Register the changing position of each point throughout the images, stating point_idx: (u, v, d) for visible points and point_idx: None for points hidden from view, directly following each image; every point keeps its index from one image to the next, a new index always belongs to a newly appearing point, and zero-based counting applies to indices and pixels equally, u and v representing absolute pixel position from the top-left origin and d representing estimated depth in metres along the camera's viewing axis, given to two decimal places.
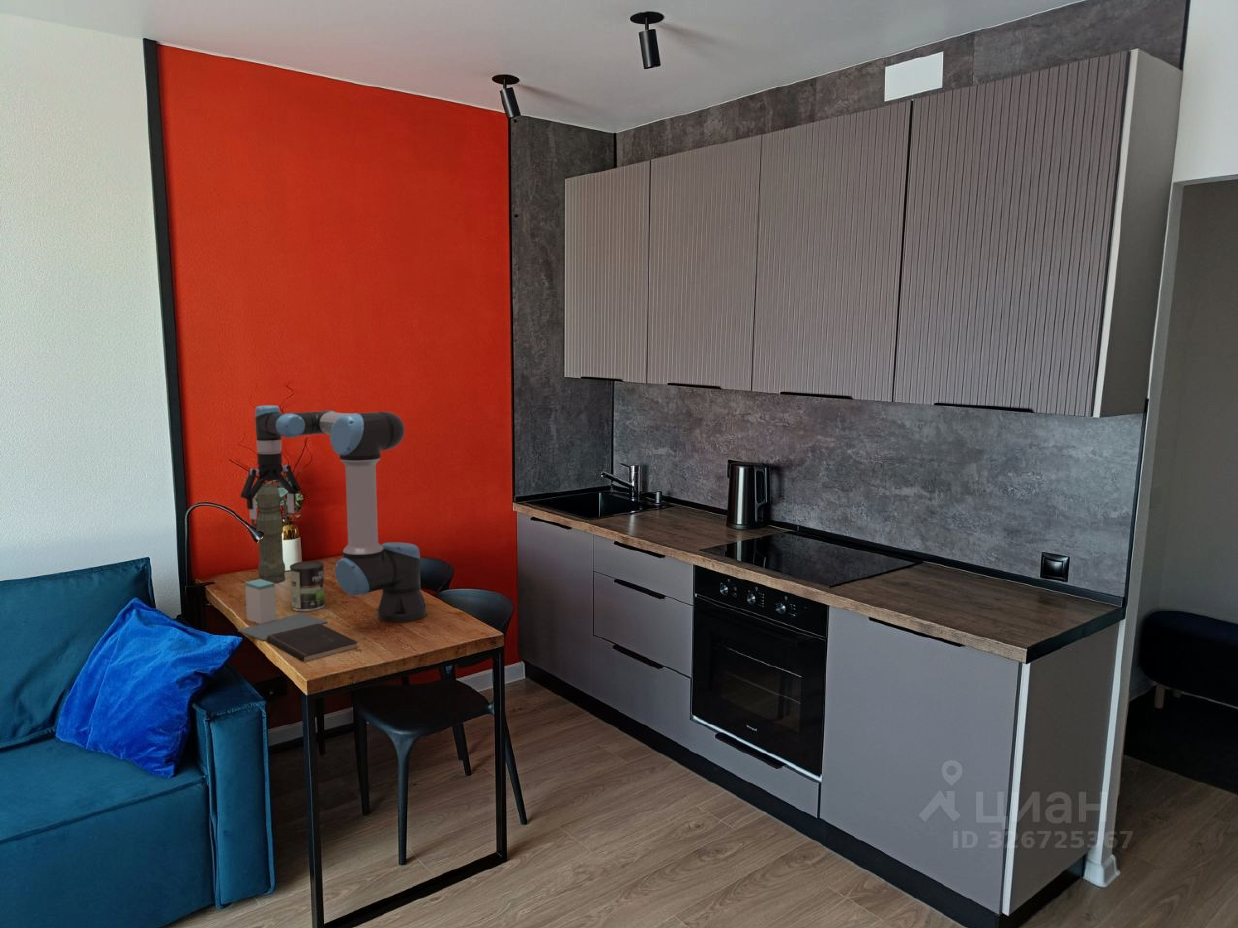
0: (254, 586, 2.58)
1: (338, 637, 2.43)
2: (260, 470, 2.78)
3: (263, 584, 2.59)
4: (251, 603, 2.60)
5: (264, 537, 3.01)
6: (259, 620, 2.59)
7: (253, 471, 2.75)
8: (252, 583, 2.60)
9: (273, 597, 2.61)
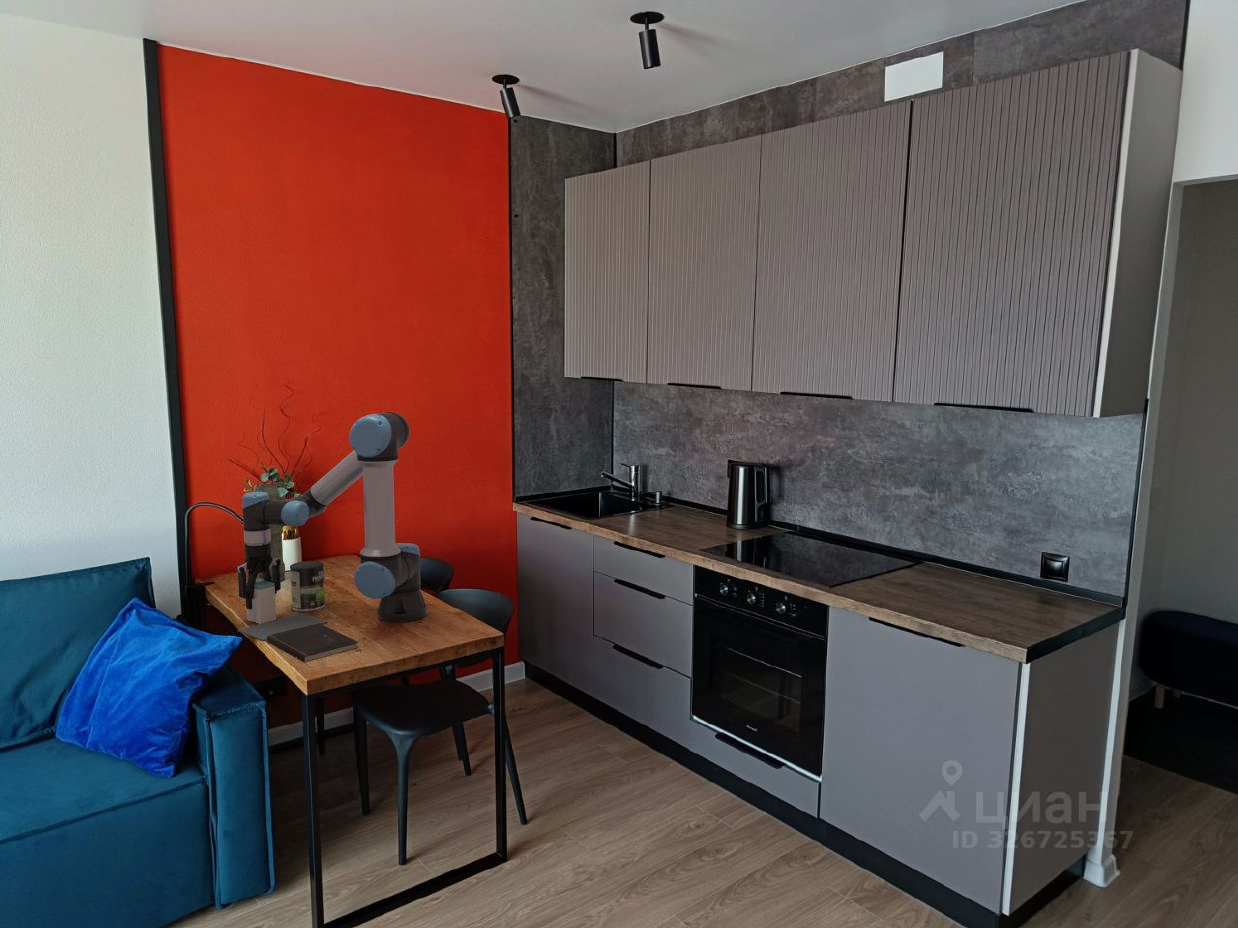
0: (254, 586, 2.58)
1: (338, 636, 2.43)
2: (247, 564, 2.57)
3: (263, 584, 2.59)
4: None
5: None
6: (259, 620, 2.59)
7: (241, 570, 2.55)
8: None
9: (273, 597, 2.61)
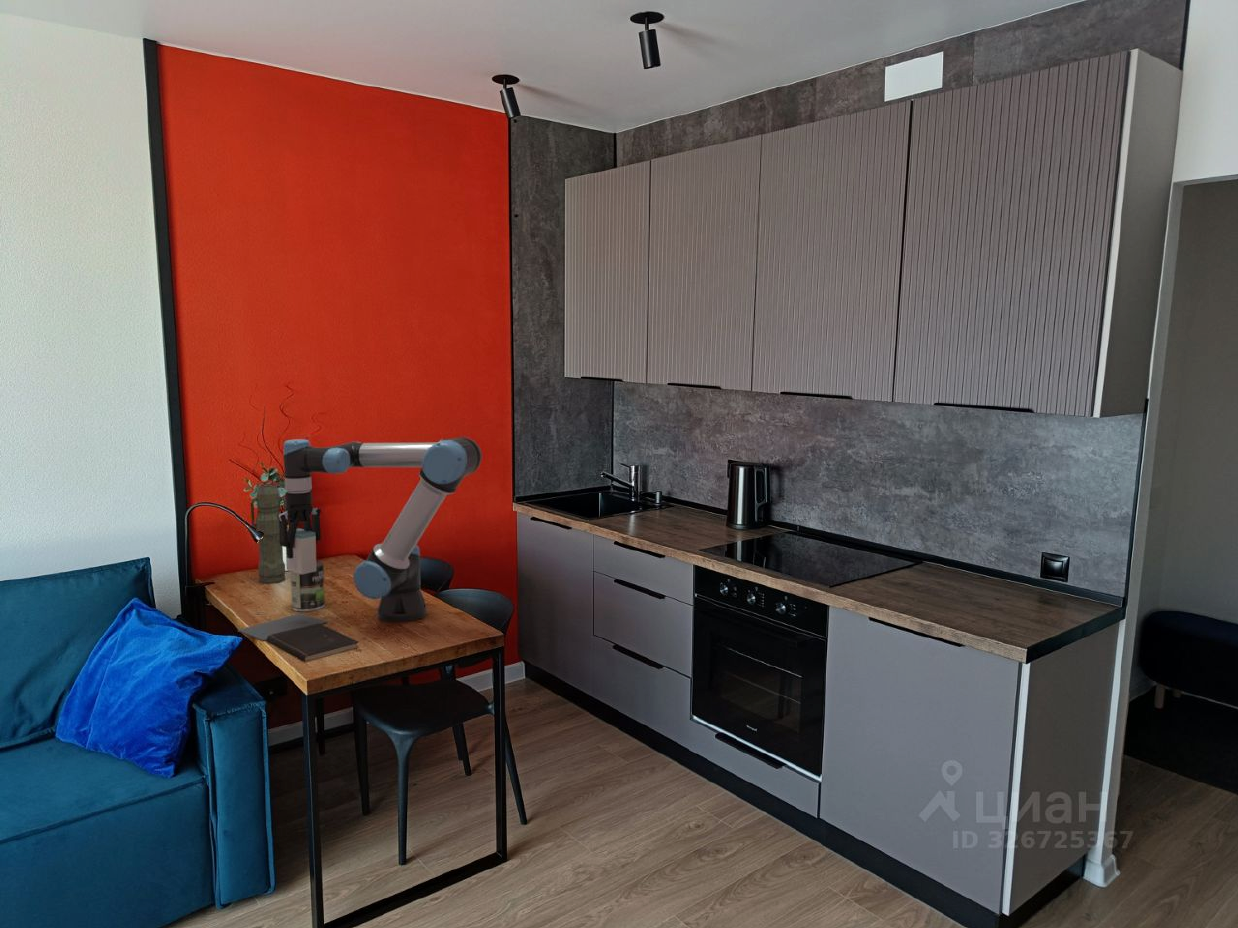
0: (295, 535, 2.55)
1: (339, 636, 2.43)
2: (288, 512, 2.53)
3: (304, 533, 2.55)
4: None
5: (264, 537, 3.01)
6: (300, 569, 2.55)
7: (282, 517, 2.51)
8: None
9: (314, 547, 2.57)
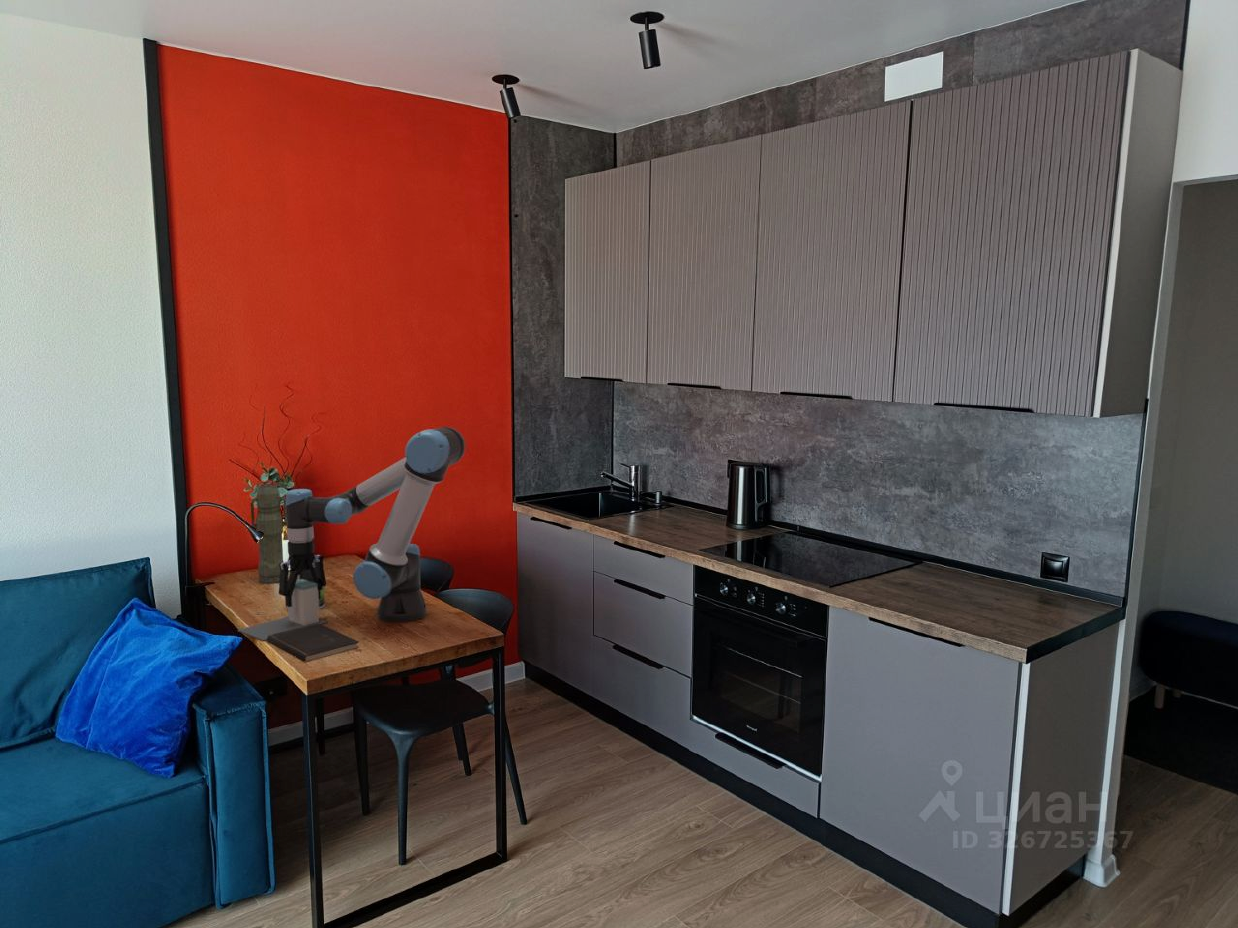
0: (297, 586, 2.57)
1: (339, 636, 2.43)
2: (291, 561, 2.55)
3: (306, 584, 2.58)
4: None
5: (264, 537, 3.01)
6: (302, 620, 2.57)
7: (284, 566, 2.53)
8: None
9: (316, 598, 2.59)
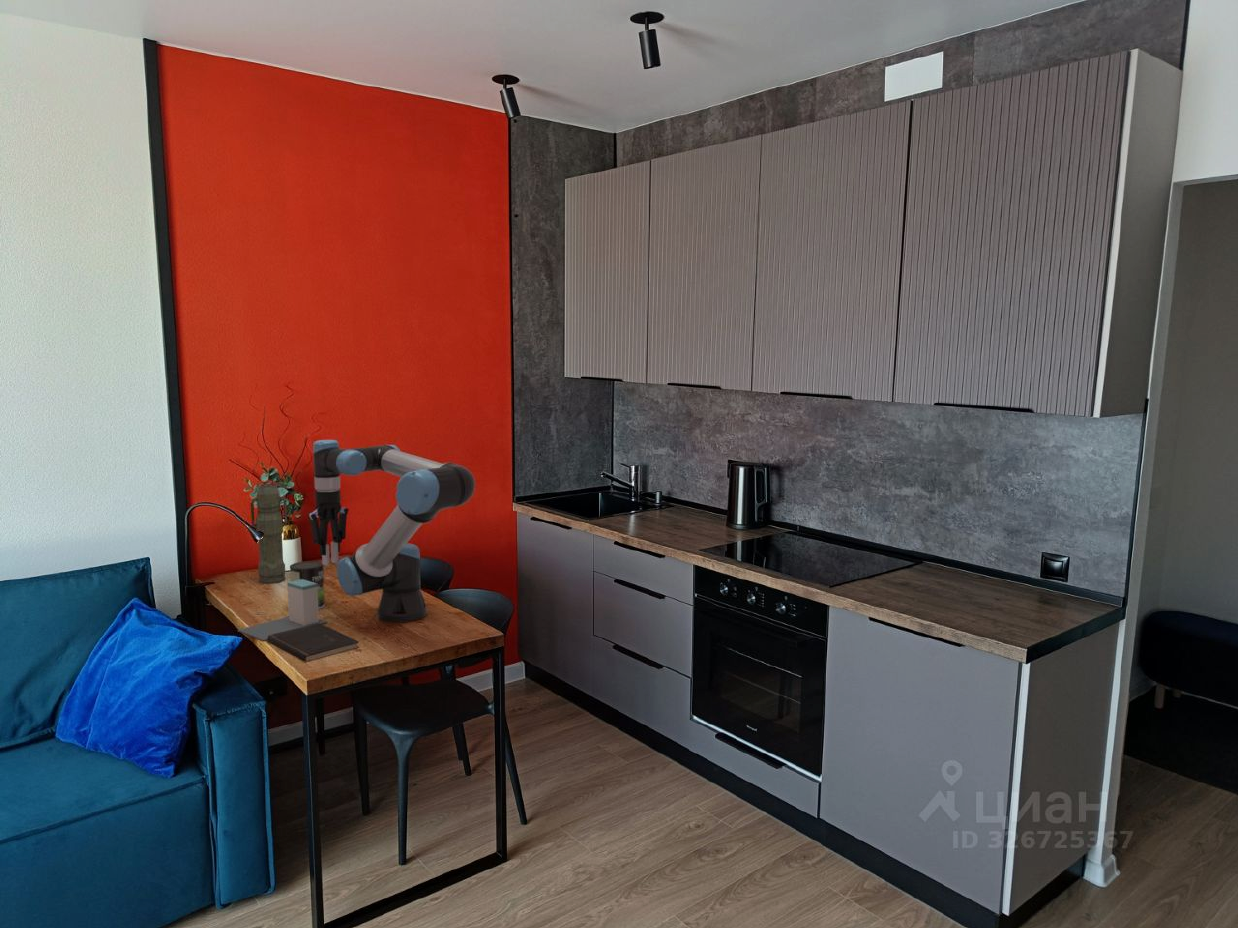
0: (297, 586, 2.57)
1: (339, 636, 2.43)
2: (318, 511, 2.61)
3: (306, 584, 2.58)
4: (294, 603, 2.59)
5: (264, 537, 3.01)
6: (302, 620, 2.57)
7: (313, 516, 2.59)
8: (295, 583, 2.59)
9: (316, 597, 2.59)
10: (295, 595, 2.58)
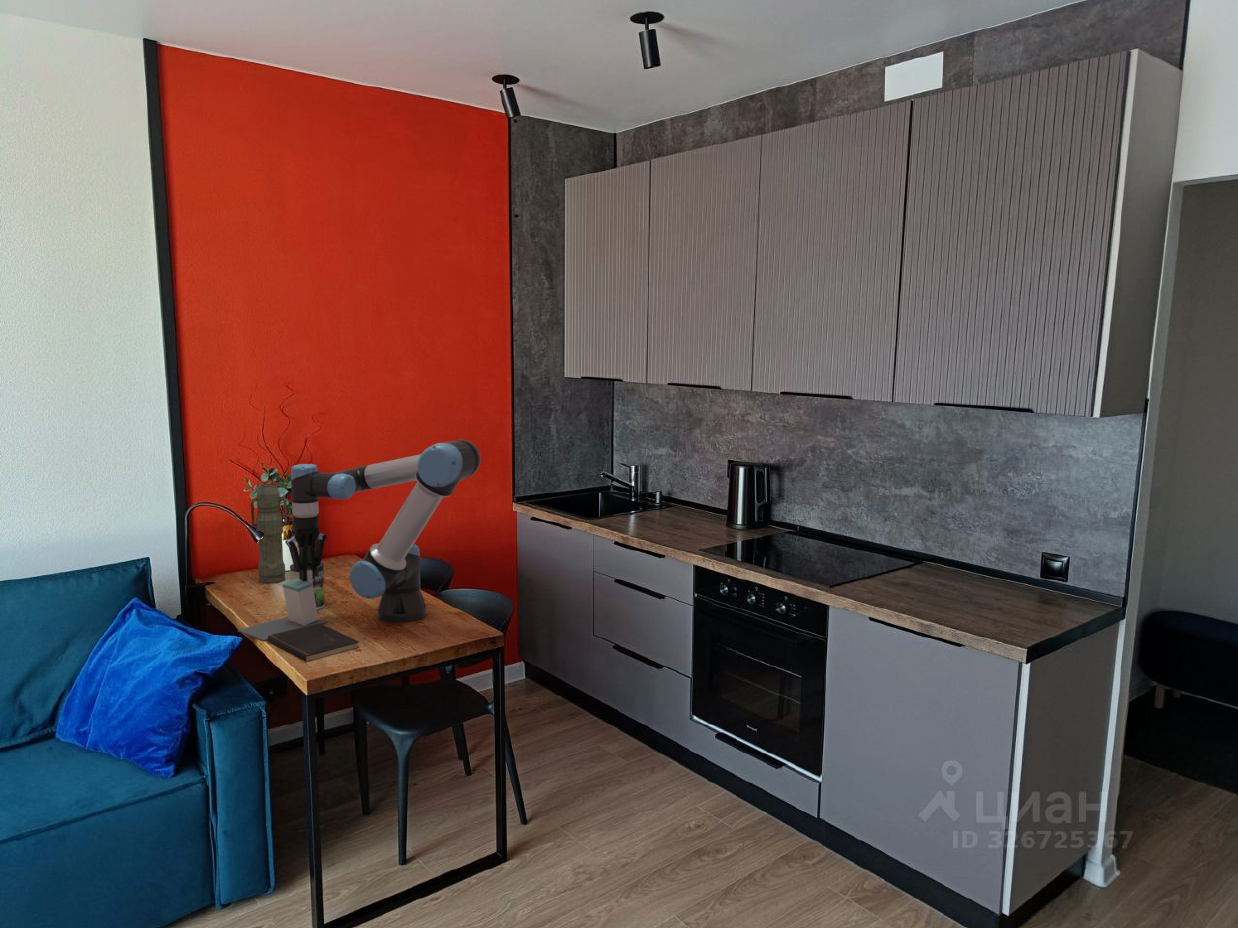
0: (292, 588, 2.56)
1: (339, 636, 2.43)
2: (296, 537, 2.56)
3: (301, 585, 2.56)
4: (292, 604, 2.58)
5: (264, 537, 3.01)
6: (302, 621, 2.57)
7: (290, 544, 2.54)
8: (290, 584, 2.58)
9: (313, 597, 2.59)
10: (291, 596, 2.57)
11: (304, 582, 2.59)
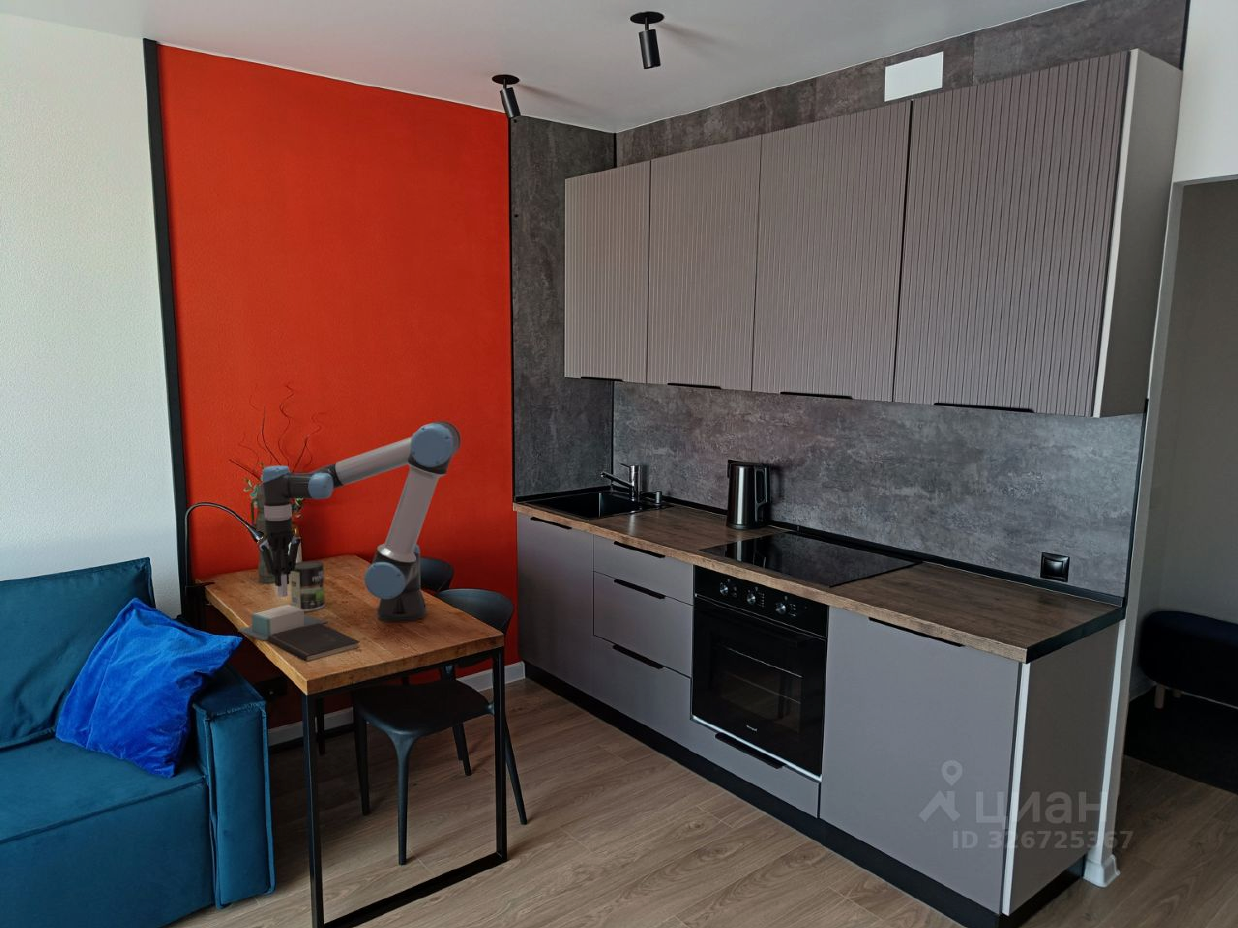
0: None
1: (340, 636, 2.44)
2: (268, 541, 2.48)
3: (264, 627, 2.48)
4: None
5: (264, 537, 3.01)
6: None
7: (263, 548, 2.47)
8: (257, 630, 2.50)
9: (280, 617, 2.50)
10: None
11: (261, 620, 2.48)
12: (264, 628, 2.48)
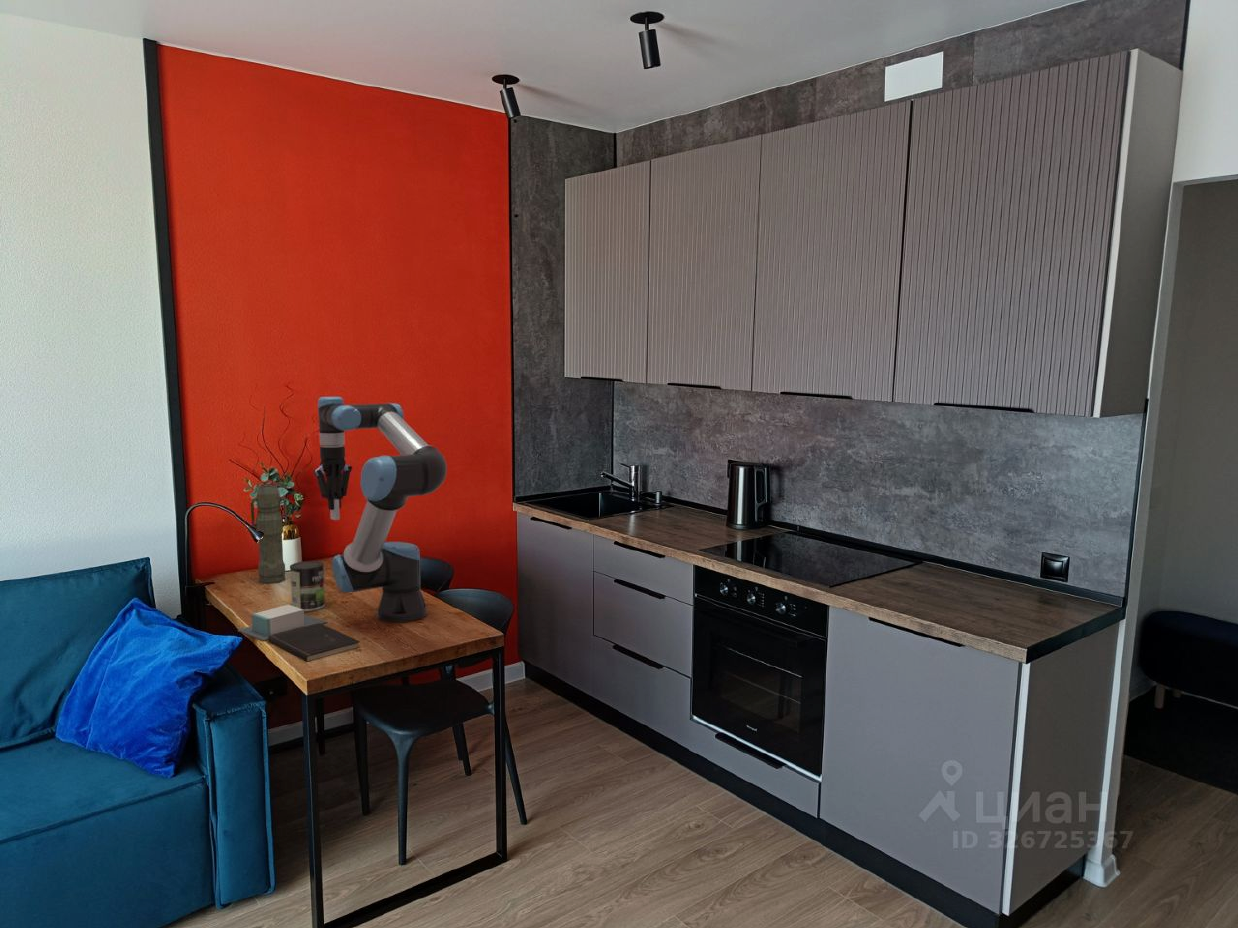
0: None
1: (340, 636, 2.44)
2: (323, 466, 2.65)
3: (264, 627, 2.48)
4: None
5: (264, 537, 3.01)
6: None
7: (319, 472, 2.64)
8: (257, 630, 2.50)
9: (280, 617, 2.50)
10: None
11: (261, 620, 2.48)
12: (264, 628, 2.48)
